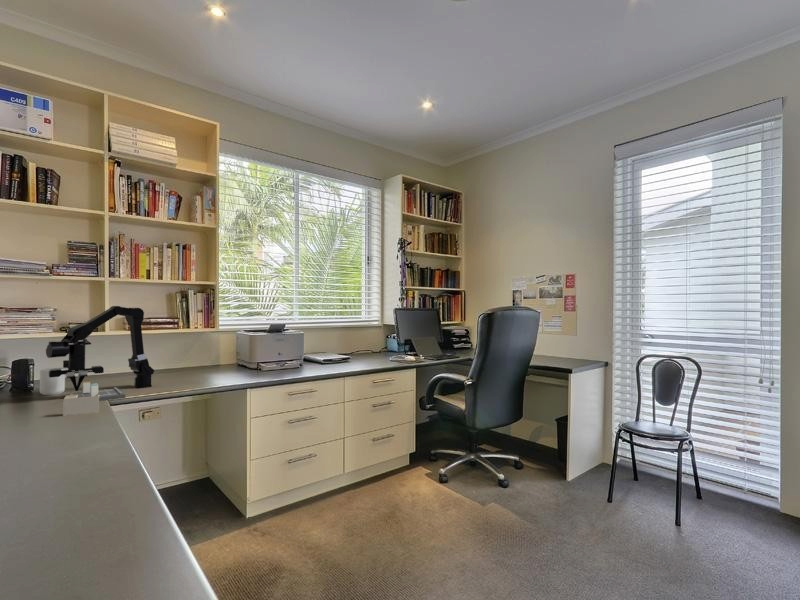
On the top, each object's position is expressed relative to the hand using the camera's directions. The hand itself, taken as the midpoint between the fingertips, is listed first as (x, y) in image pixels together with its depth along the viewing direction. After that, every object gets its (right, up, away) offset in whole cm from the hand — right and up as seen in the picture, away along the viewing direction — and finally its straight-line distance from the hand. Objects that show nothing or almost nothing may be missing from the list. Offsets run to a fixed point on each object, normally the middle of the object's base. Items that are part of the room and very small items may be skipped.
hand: (76, 390), depth 181 cm
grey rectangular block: (+3, -1, +2) cm, 4 cm away
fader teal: (+11, -1, -4) cm, 11 cm away
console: (+8, -3, +1) cm, 9 cm away
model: (+22, -3, -26) cm, 34 cm away
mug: (-18, -3, +9) cm, 20 cm away
